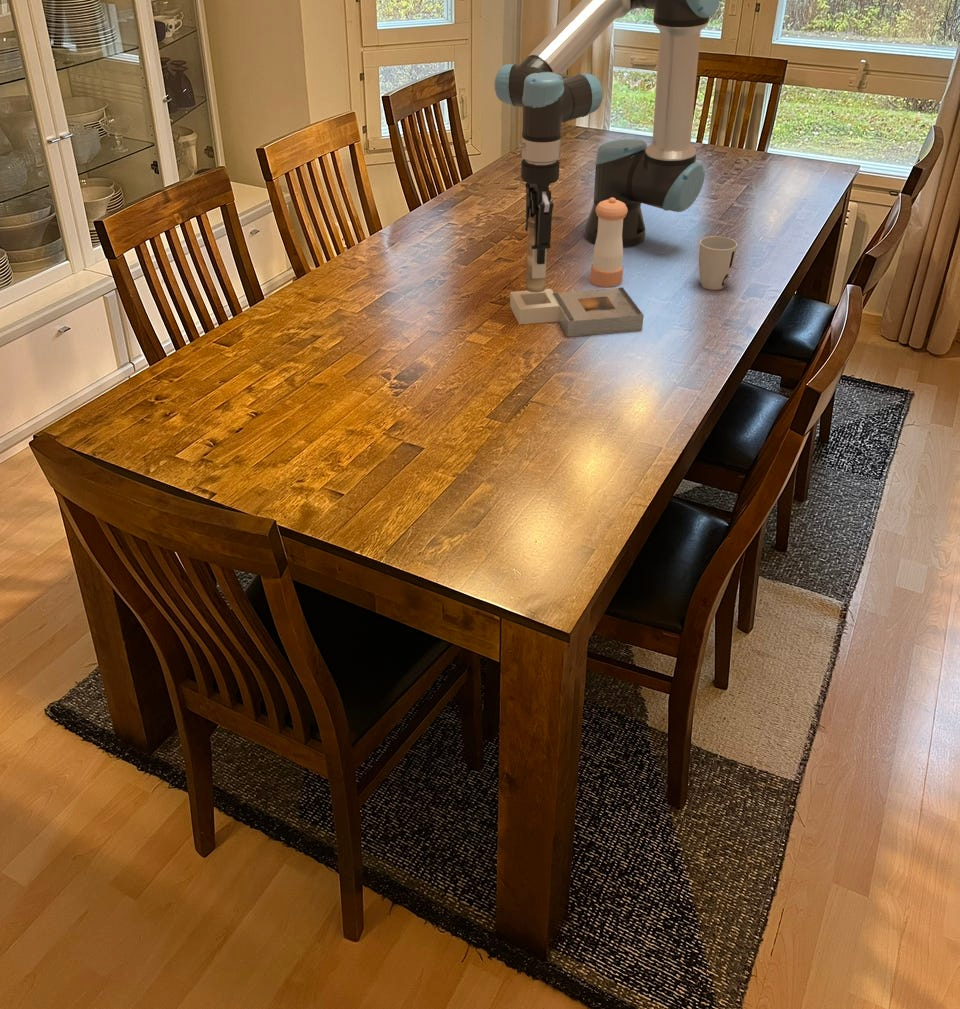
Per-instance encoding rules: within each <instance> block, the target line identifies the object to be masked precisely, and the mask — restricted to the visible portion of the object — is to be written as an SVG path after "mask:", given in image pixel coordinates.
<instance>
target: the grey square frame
mask: <svg viewBox="0 0 960 1009" xmlns="http://www.w3.org/2000/svg"><path fill="white" fill-rule="evenodd" d="M552 294H553V295H555V296H553V297H556V298H557V301H558V305H559V303H560V305H559V321H558V323H559V325H560V326H561V328H562V330H563V332H564V334H565V335H566V337H567V338H572V337H573V338H574V337H583V336H585V337H586V336H593V335H595V336H596V335H604V334H605V335H606V334H618V333H628V332H639V331H643V326H644V325H643V324H644V316H645V315H644V313H643V312H642V311H641V309H640V308H639V307H638V305H637V304H636V303H635V301H634V300H633V298H632V297H631V296H630V295H629V294H628V292H627V291H626V290H625V288H624V287H616V288H615V287H611V288H602V289H600V288H599V289H591V290H589V289H588V290H578V291H565V292H564V291H563V292H553V293H552ZM590 310H600V311H590ZM587 311H589V312H587Z"/></svg>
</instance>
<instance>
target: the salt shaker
mask: <svg viewBox="0 0 960 1009" xmlns="http://www.w3.org/2000/svg"><path fill="white" fill-rule="evenodd" d="M595 211H596V214H597V216H598V217H599V218H598V231H597V238H596V242H595V244H594V245H593V247H594V248H593V251H592V253H593V255H592V264H591V266H590V274H589V275H590V277H589V278H590V279H589V281H590V283H591V284H592V285H594V286H596V287H601V288H615V287H618V286H620V285H621V284H622V282H623V275H624V267H623V265H622V264H623V258H624V257H623V256H624V247H623V243H622V229H623V218H625V216H626V214H627V212H628V210H627V207H626V205H625V203H623V202H621V201H619V200H616V199H615V198H609V199H608V200H604V201H601V202H599V204H598V205H597V207H596V209H595Z"/></svg>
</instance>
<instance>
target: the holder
mask: <svg viewBox="0 0 960 1009" xmlns="http://www.w3.org/2000/svg"><path fill="white" fill-rule="evenodd" d="M552 293H554V291H553V289H552V288H545V290H544V291H542V292H538V293H534V292H529V291H527V290H516V291H510V294H509V295H510V298H509V300H510V302H509V303H510V304H509V305H510V306H509V307H510V309H511V311H512V313H513V315H514V318H515V319H516V321H517V323H518V325H520V326H521V324H522V325H530V324H531V325H532V324H543V323H544V324H545V323H555V322H556V323H557V322H559V305H560V303H559V305H558V301H557V298H556V297H553V296H555V295H553V294H552Z"/></svg>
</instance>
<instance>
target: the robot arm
mask: <svg viewBox="0 0 960 1009" xmlns="http://www.w3.org/2000/svg"><path fill="white" fill-rule="evenodd" d="M721 1H722V0H581V1H579V3H578V4H577V5H576V6H575V7H574V8H573V9H571V11H570V12H569V13H568V14H567V15H566V16H565V17H564V18H563V19H562V20H561V21H560V22H559V23H558V24H557V25H556V26H555V27H554V29H552V31H551V32H550V33H549V34H548V35H547V36H546V37H545V38H544V39H543V40H542V41H541V42H540V43H539V44H538V45H537V46H536V47H535V48H533V50H532V51H531V52H530V53H529V54H528V56H527V57H526V58H525V59H523V61H521V63H520V64H517V63H506V64H505V65H502V66H501V67H500V68H499V70H498V71H497V73H496V75H495V78H494V92H495V95H496V97H497V98H498V100H499V101H500V102H502V103H505V104H508V105H510V106H513V107H517V108H522V132H521V136H522V138H521V141H522V142H520V143H518V144H519V145H518V147H519V149H521V157H522V159H521V161H520V163H521V164H520V178H521V180H522V181H523V182H524V183H525V184H524V185H525V202H526V203H525V227H524V228H525V232H527V233H526V235H527V236H526V237H528V218H529V217H531V216H534V221H535V245H534V246H531V248H532V249H533V265H532V278H545V279H546V278H547V277H546V276H547V275H546V274H547V252H548V249H551V241H552V240H551V238H552V237H551V236H552V223H553V222H552V220H553V219H552V218H553V208H554V202H553V201H551V200H552V191H551V190H550V185H551V184H553V183H556V182H557V181H559V178H560V164H561V163H560V161H559V159H560V158H561V148H562V147H561V146H562V144H561V142H562V136H561V135H562V124H564V123H566V122H569V121H572V120H576V119H579V118H584V117H587V116H588V115H590V114H592V113H594V112H596V111H597V110H598V109H599V108H600V107H601V105H602V103H603V99H604V98H603V97H604V91H603V86H602V84H601V82H600V80H599V79H598V77H596V76H595V75H594V74H591V73H579V74H576V75H574V76H573V75H567V74H564V73H566V71H567V70H568V69H569V68H570V67H571V66H572V65H573V64H574V63H575V62H576V60H578V58H579V57H580V56H582V54H583V53H584V52H585V51H586V50H587V49H588V48H589V47H590V46H591V45H592V44H593V43H594V42H595V41H596V40H597V39H598V38H599V37H600V36H601V35H602V33H603V32H604V31H606V29H607V28H608V27H609V26H610V25H611V24H612V23H613V22H614V21H615V20H616V19H621V18H623V17H625V16H626V15H627V14H628V13H629V12H630V11H632V10H634V9H643V8H644V9H648V10H653V22H652V23H653V25H654V26H655V28H657V29H658V31H659V37H658V38H659V40H658V51H657V52H658V54H657V55H658V56H657V67H656V85H655V98H654V99H655V100H654V114H653V129H652V142H651V143H650V144H648V146H647V143H646V142H645V140H642V139H634V138H631V139H630V138H629V139H627V138H625V139H617V140H616V139H615V140H612V141H611V140H610V141H607V142H604V143H602V144H600V146H599V147H598V149H597V151H596V159H595V172H594V174H595V175H594V187H593V188H594V190H593V204H592V207H591V209H590V212H589V214H588V216H587V220H586V222H585V224H584V225H585V226H584V231H583V232H584V234H583V236H584V237H585V238H584V239H586V240H587V241H588V242H590V243H592V244H594V245H595V242H596V238H597V231H598V218H599V217H598V216H597V214H596V211H595V209H596V207H597V205H598V204H599V202H601V201H604V200H608V199H609V198H615V199H616V200H619V201H621V202H623V203H625V205H626V207H627V210H628V212H627V214H626V216H625V218H623V229H622V243H623V248H626V247H627V248H628V247H633V246H636V245H639V244H641V243H643V242H644V240H645V238H646V225H645V220H644V216H643V213H642V212H643V211H642V208H641V206H642V204H644V205H648V206H651V207H655V208H657V209H658V208H659V209H662V210H664V211H668V212H669V211H670V212H675V213H682V212H685V211H686V210H689V209H690V207H691V206H692V205H693V204H694V203H695V201H696V200H697V198H699V195H700V193H701V190H702V188H703V185H704V182H705V176H706V174H705V172H706V171H705V168H704V165H703V164H702V163H700V162H699V161H697V160H696V159H697V149H696V147H695V146H694V145H693V144H692V143H691V142H692V133H693V132H692V131H693V130H692V129H693V120H694V111H695V109H694V108H695V98H696V85H697V76H698V64H699V63H698V62H699V51H700V40H701V33H702V32H701V31H702V30H703V29H705V27H706V26H707V25H708V24H709V22H710V17H712V16H713V15H715V14H716V12H717V11H718V9H719V8H720V5H721V4H720V2H721Z"/></svg>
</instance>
